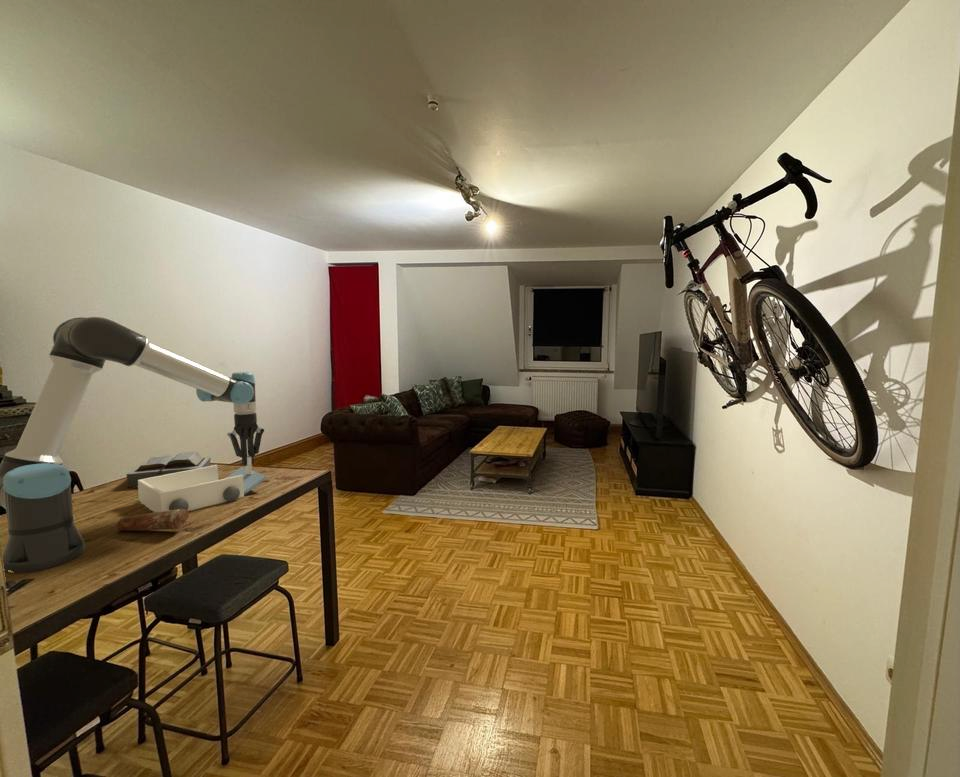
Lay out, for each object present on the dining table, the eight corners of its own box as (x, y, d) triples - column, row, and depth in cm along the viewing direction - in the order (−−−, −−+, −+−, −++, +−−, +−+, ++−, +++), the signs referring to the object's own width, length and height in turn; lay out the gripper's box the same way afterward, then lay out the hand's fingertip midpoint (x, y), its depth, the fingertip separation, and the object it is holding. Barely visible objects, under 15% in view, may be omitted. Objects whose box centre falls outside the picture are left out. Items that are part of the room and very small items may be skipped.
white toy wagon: (163, 519, 137) (162, 494, 136) (137, 501, 152) (136, 479, 152) (246, 497, 157) (245, 476, 156) (216, 484, 172) (214, 464, 171)
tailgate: (243, 492, 159) (266, 476, 165) (219, 482, 171) (241, 466, 177) (244, 495, 159) (267, 478, 165) (220, 484, 171) (242, 468, 177)
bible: (196, 487, 168) (194, 462, 167) (116, 491, 163) (114, 465, 162) (220, 470, 191) (219, 448, 190) (150, 473, 186) (149, 450, 185)
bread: (179, 533, 126) (175, 516, 124) (114, 535, 126) (108, 518, 125) (193, 520, 132) (189, 504, 130) (130, 522, 132) (125, 506, 131)
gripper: (231, 416, 160) (235, 479, 162) (267, 411, 170) (270, 471, 172) (222, 414, 164) (226, 475, 167) (257, 409, 174) (260, 467, 177)
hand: (248, 473), depth 170 cm, fingers closed
